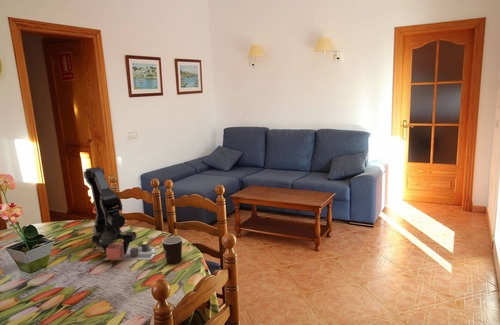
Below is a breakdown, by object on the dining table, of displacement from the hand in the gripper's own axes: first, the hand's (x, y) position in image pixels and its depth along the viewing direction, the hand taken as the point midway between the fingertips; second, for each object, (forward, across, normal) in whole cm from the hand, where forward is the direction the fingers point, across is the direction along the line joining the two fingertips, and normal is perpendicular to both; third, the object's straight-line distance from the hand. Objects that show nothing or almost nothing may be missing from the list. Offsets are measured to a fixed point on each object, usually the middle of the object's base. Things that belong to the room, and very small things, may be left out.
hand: (116, 254), depth 173 cm
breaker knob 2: (0, +12, +6) cm, 13 cm away
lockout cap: (+1, 0, 0) cm, 1 cm away
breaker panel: (+2, +6, +3) cm, 7 cm away
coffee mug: (+2, +28, -2) cm, 28 cm away
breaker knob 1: (0, +8, 0) cm, 9 cm away
